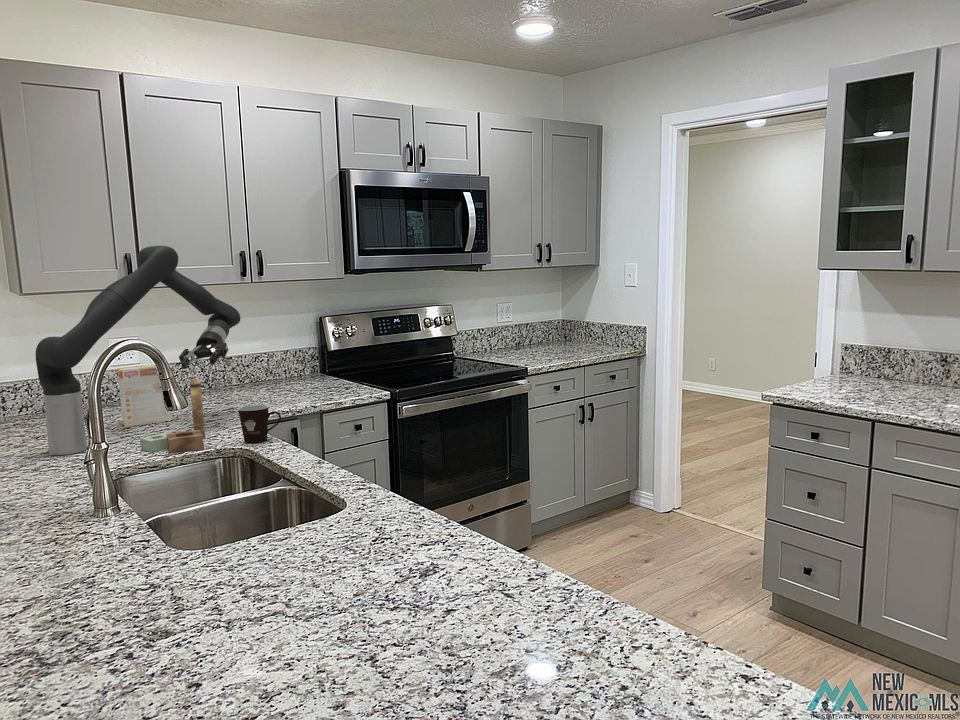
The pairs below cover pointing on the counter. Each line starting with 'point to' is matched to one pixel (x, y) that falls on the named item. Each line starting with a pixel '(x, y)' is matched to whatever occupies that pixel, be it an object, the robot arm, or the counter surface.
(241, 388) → the counter surface
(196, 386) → the tan wooden bar
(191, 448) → the slotted wooden block
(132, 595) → the counter surface
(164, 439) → the bead
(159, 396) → the coffeecake box
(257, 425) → the coffee mug
